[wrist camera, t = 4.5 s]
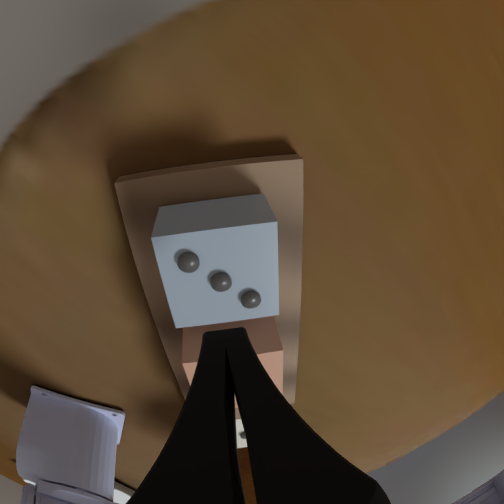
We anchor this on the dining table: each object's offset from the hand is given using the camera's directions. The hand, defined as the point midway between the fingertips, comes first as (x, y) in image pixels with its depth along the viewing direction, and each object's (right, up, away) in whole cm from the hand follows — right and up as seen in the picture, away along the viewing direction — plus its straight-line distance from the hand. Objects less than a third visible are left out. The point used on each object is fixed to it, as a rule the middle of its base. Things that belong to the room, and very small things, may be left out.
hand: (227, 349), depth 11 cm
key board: (-1, -1, +10) cm, 10 cm away
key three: (-1, +4, +6) cm, 7 cm away
